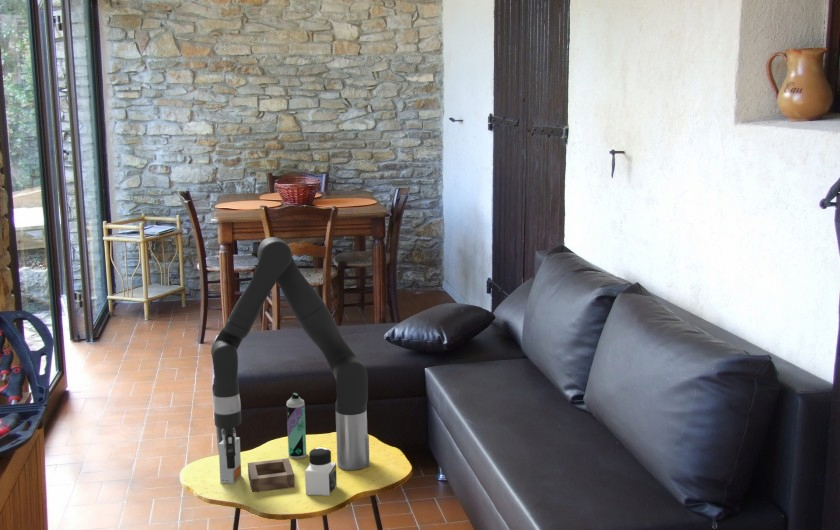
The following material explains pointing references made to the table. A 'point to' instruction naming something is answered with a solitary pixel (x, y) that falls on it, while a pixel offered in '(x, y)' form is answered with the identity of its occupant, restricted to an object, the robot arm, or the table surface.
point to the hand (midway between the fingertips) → (230, 462)
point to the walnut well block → (271, 475)
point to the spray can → (296, 427)
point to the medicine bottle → (320, 473)
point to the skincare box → (226, 473)
